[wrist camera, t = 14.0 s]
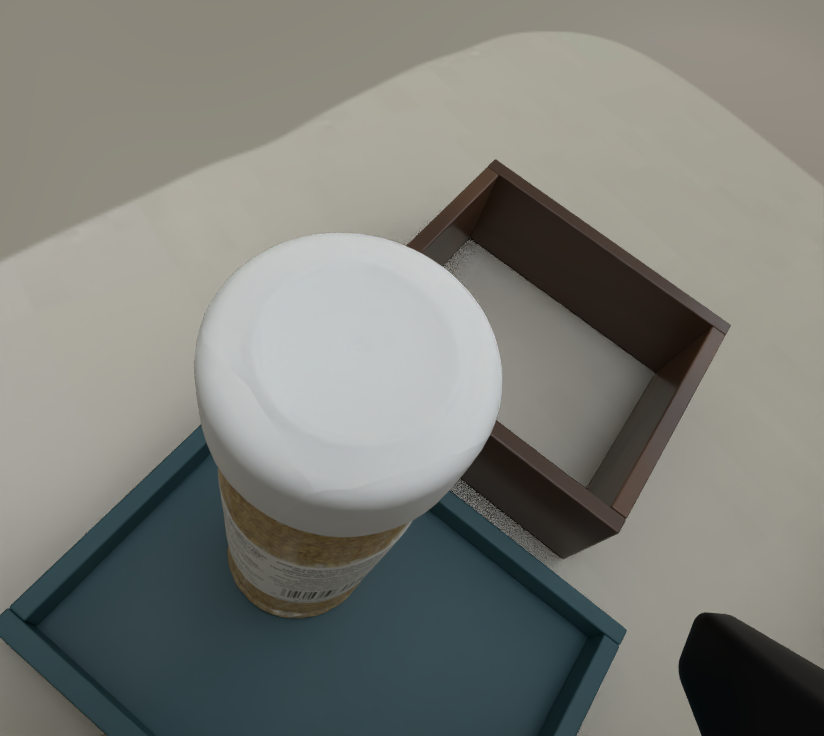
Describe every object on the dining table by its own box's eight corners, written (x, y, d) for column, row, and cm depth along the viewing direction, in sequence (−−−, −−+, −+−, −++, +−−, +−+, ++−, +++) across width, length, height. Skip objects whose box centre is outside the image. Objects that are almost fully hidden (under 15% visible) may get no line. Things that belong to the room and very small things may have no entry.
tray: (416, 1005, 17) (432, 1033, 15) (8, 632, 18) (-13, 626, 17) (603, 635, 22) (628, 629, 21) (274, 373, 24) (275, 352, 22)
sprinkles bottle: (370, 482, 22) (501, 240, 11) (366, 624, 20) (525, 514, 9) (233, 474, 21) (215, 200, 10) (215, 621, 19) (163, 495, 8)
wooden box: (563, 559, 23) (619, 534, 20) (322, 370, 24) (334, 315, 21) (672, 371, 28) (731, 324, 25) (466, 222, 29) (495, 158, 26)
